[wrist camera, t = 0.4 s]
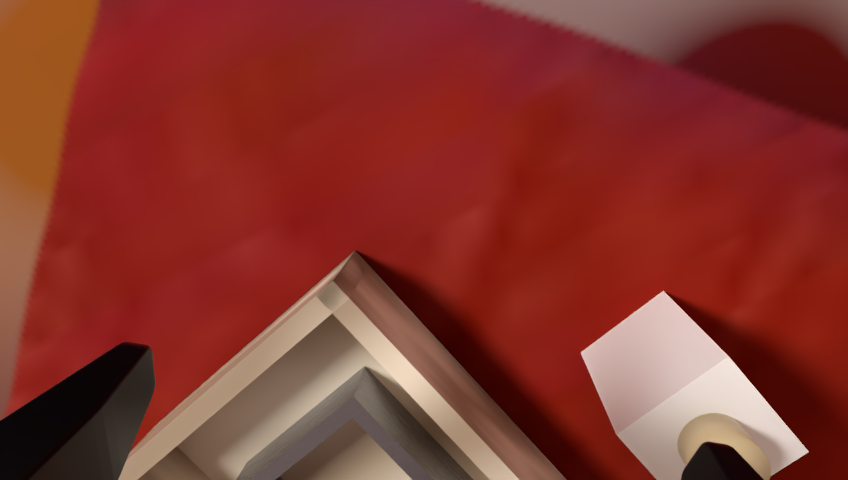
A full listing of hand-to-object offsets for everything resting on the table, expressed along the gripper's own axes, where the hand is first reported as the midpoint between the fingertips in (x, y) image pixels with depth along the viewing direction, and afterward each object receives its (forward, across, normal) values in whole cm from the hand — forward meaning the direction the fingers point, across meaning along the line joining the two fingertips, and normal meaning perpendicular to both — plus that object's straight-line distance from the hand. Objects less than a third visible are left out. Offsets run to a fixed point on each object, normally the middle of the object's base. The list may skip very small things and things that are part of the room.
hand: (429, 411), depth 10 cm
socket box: (+10, 0, +15) cm, 18 cm away
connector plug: (+11, -10, +8) cm, 17 cm away
